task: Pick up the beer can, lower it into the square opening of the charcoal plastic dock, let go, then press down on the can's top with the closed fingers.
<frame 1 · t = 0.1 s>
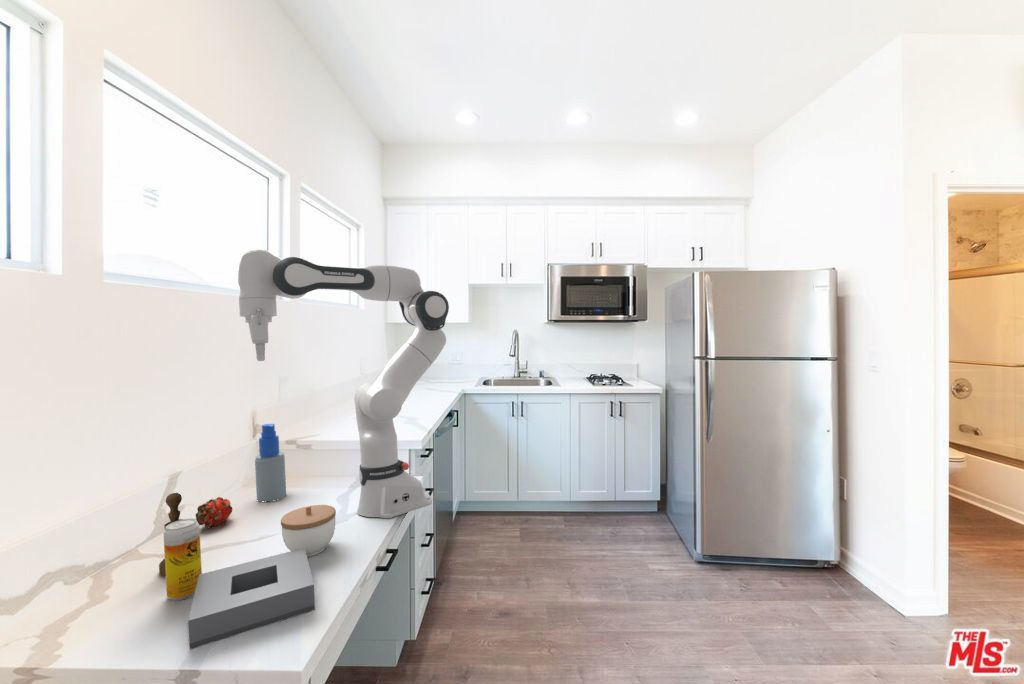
hand: (260, 360, 122), 48 cm above the worktop, tool pointing down, fingers open, 8 cm apart
beer can: (185, 594, 94), on the worktop
dragon fruit: (215, 525, 130), on the worktop
can dock: (255, 603, 90), on the worktop
lidded bowl: (310, 550, 112), on the worktop
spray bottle: (271, 497, 152), on the worktop
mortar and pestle: (177, 570, 105), on the worktop
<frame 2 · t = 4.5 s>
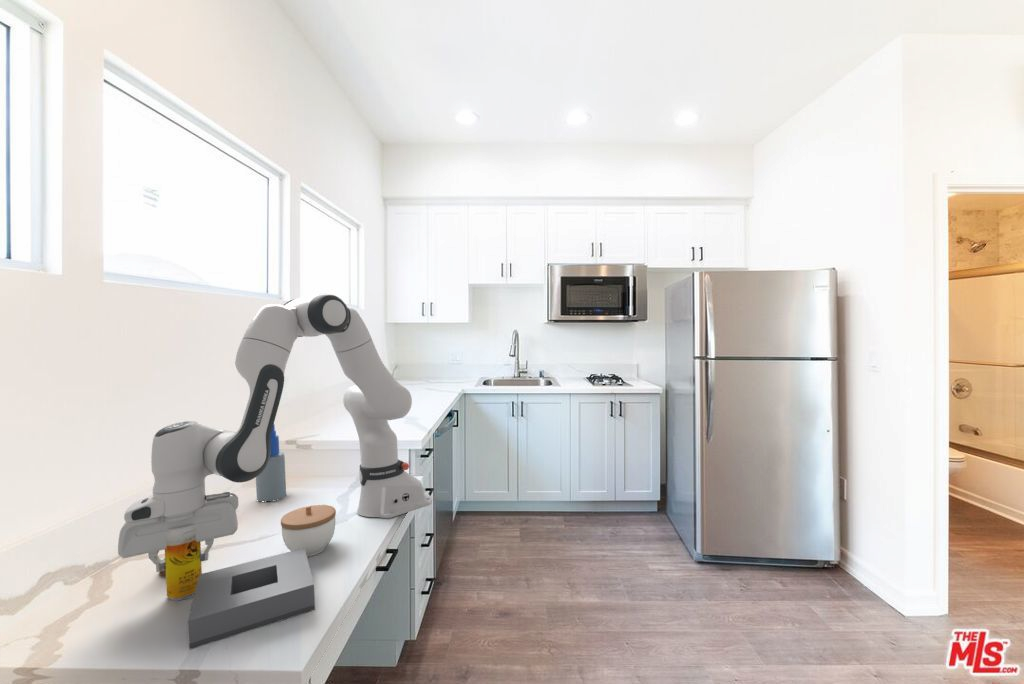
hand: (183, 565, 94), 6 cm above the worktop, tool pointing down, fingers closed on beer can, 6 cm apart
beer can: (185, 594, 94), on the worktop, touching gripper
everything else where it was.
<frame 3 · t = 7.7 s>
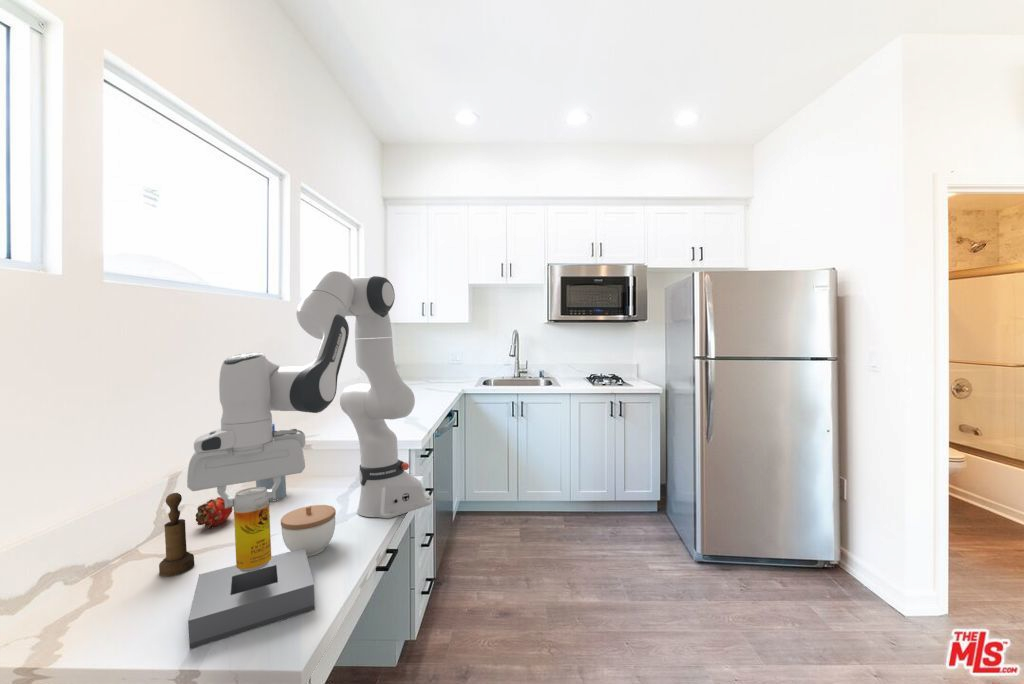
hand: (251, 502, 89), 20 cm above the worktop, tool pointing down, fingers closed on beer can, 6 cm apart
beer can: (254, 567, 89), point 8 cm above the worktop, touching gripper
everything else where it was.
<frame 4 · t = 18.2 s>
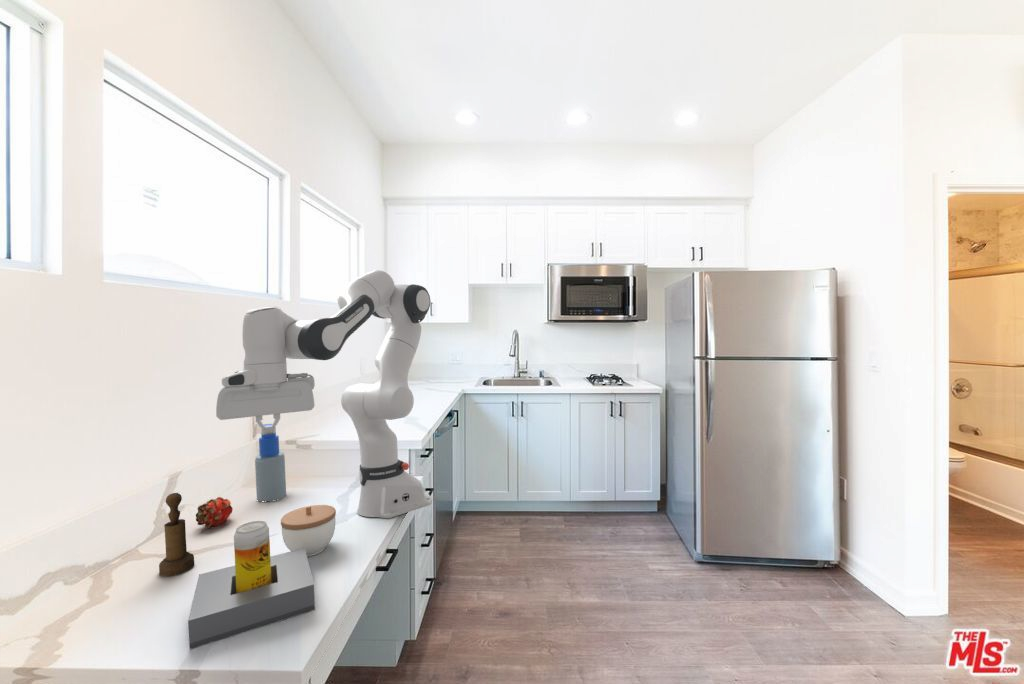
hand: (268, 433, 105), 31 cm above the worktop, tool pointing down, fingers closed
beer can: (254, 601, 89), point 1 cm above the worktop, touching can dock
everything else where it was.
at the end: beer can 0.7 cm off-centre on the can dock, point 0.8 cm above the can dock's base; beer can tilted 0°; the gripper is holding nothing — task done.
